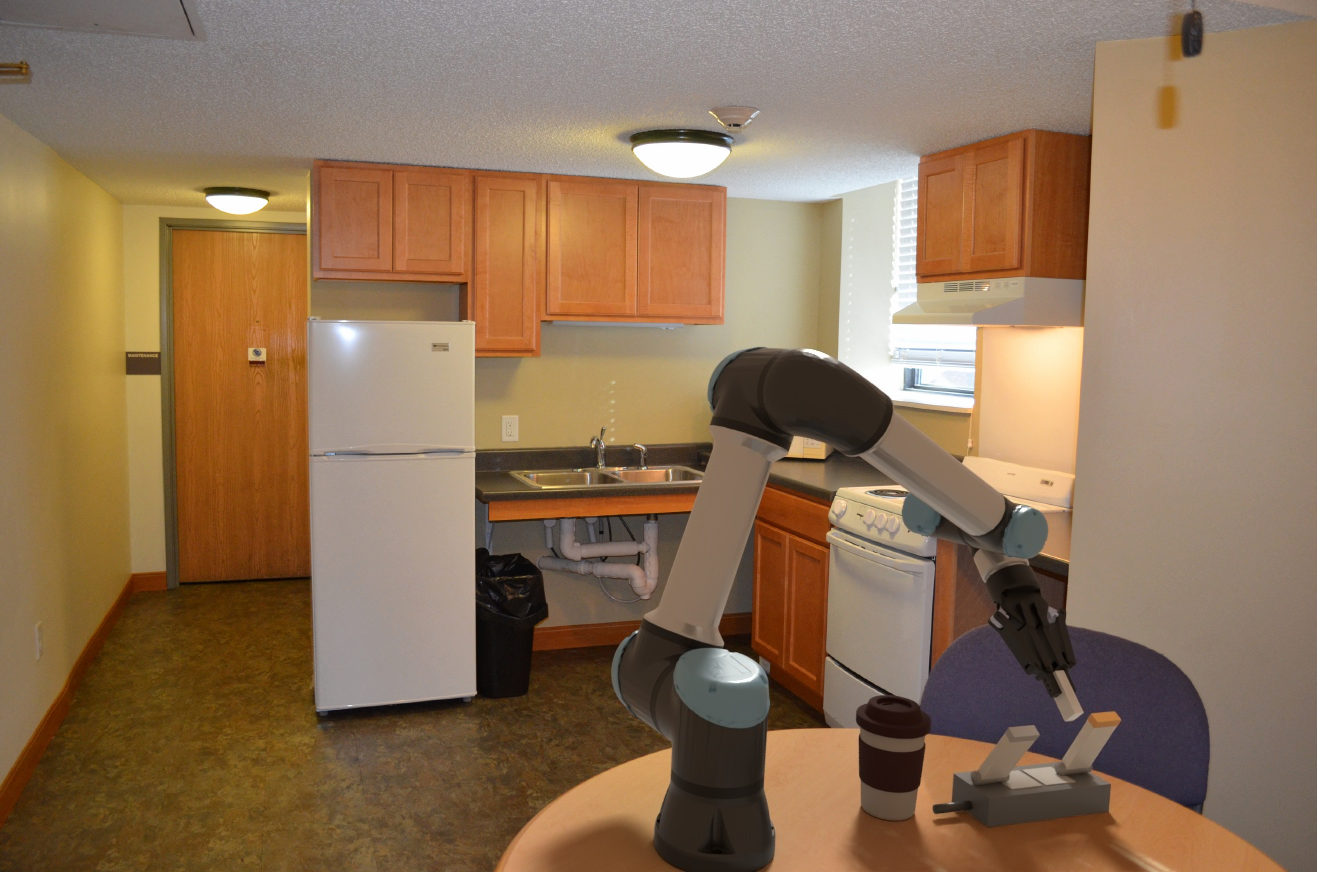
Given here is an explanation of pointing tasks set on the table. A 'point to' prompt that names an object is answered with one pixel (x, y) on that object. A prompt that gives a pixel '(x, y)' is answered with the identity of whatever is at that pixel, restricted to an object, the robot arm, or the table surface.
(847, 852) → the table surface
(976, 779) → the grey-capped paddle
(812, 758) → the table surface
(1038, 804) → the power strip
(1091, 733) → the orange-capped paddle
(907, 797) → the coffee cup
